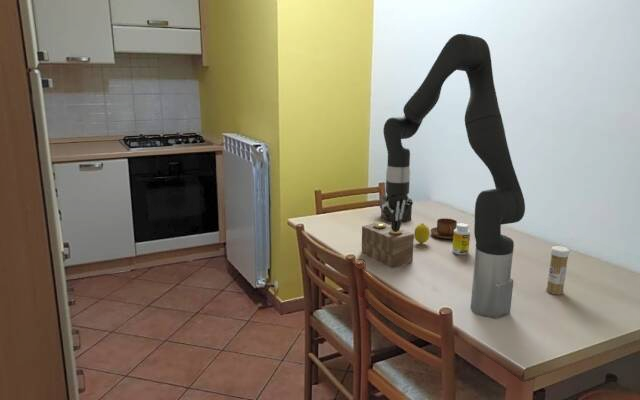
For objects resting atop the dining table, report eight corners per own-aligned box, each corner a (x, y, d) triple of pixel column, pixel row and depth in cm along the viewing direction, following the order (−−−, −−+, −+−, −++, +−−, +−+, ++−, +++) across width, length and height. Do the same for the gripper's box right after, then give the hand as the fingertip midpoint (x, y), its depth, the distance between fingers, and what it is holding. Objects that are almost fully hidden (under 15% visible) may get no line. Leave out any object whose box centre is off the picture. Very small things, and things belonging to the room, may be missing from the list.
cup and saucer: (468, 239, 188) (469, 223, 186) (442, 242, 183) (443, 227, 182) (449, 230, 199) (450, 215, 197) (424, 233, 194) (425, 218, 193)
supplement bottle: (461, 256, 170) (463, 228, 167) (448, 251, 174) (450, 224, 172) (471, 253, 173) (474, 225, 170) (459, 248, 177) (461, 221, 175)
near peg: (403, 258, 164) (404, 230, 162) (394, 261, 162) (395, 233, 160) (394, 255, 168) (396, 227, 165) (386, 257, 165) (387, 229, 163)
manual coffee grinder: (413, 220, 210) (415, 179, 206) (389, 222, 207) (390, 181, 203) (398, 211, 225) (400, 172, 220) (375, 212, 222) (377, 174, 217)
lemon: (411, 245, 181) (412, 224, 179) (416, 240, 185) (417, 220, 183) (426, 247, 178) (427, 226, 176) (430, 242, 183) (432, 222, 181)
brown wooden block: (412, 262, 165) (414, 233, 162) (392, 267, 160) (393, 238, 157) (380, 248, 177) (381, 221, 175) (361, 253, 172) (362, 226, 170)
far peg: (386, 251, 171) (387, 224, 168) (378, 254, 169) (379, 226, 166) (379, 248, 174) (380, 221, 172) (370, 250, 172) (371, 223, 169)
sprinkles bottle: (542, 290, 143) (548, 246, 140) (554, 287, 145) (559, 244, 142) (555, 296, 139) (561, 252, 136) (567, 293, 141) (573, 249, 138)
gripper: (390, 184, 152) (388, 237, 156) (420, 178, 159) (418, 229, 163) (374, 179, 157) (373, 231, 162) (404, 174, 165) (402, 224, 169)
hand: (395, 230), depth 163 cm, fingers closed
